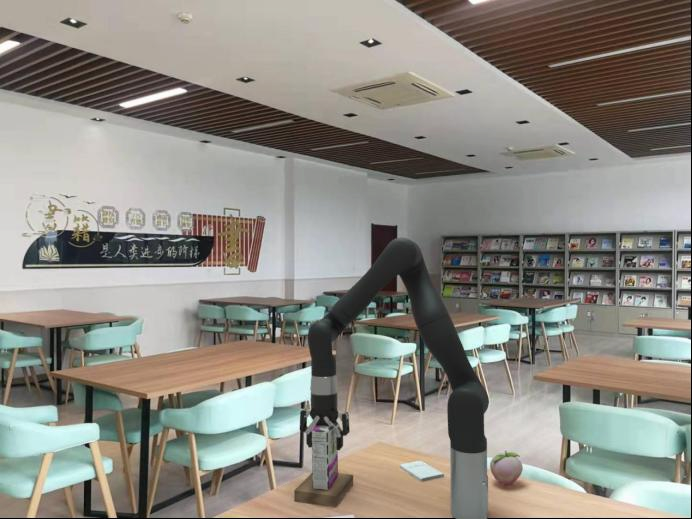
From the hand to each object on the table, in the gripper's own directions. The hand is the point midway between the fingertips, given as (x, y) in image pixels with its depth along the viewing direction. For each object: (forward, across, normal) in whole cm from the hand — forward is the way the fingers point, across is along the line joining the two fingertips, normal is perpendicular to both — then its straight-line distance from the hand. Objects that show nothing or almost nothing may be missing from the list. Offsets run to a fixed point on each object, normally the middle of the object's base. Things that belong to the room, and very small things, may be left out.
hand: (324, 448), depth 152 cm
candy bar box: (+10, 0, 0) cm, 10 cm away
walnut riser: (+13, 0, 0) cm, 13 cm away
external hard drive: (+14, -23, -23) cm, 35 cm away
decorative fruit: (+13, -48, -22) cm, 54 cm away
